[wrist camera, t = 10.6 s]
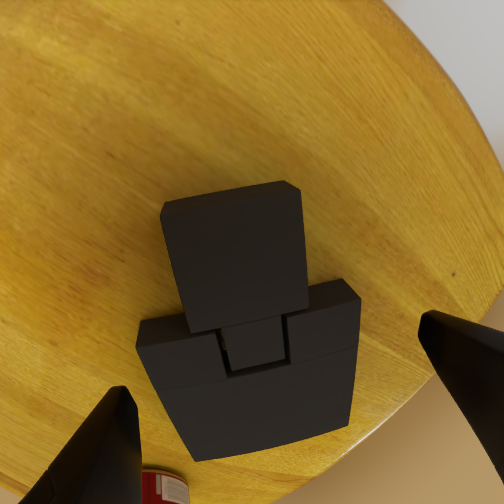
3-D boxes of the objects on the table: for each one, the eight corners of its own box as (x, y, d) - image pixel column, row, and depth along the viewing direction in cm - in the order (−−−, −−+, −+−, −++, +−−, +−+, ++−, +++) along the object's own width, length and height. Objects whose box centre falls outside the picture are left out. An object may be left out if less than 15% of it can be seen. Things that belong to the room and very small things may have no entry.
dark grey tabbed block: (284, 179, 15) (301, 189, 13) (298, 327, 19) (311, 351, 17) (164, 202, 15) (159, 215, 12) (201, 348, 18) (204, 376, 16)
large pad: (342, 277, 18) (361, 298, 16) (337, 404, 23) (348, 425, 21) (140, 320, 17) (134, 347, 15) (192, 437, 22) (194, 462, 19)
